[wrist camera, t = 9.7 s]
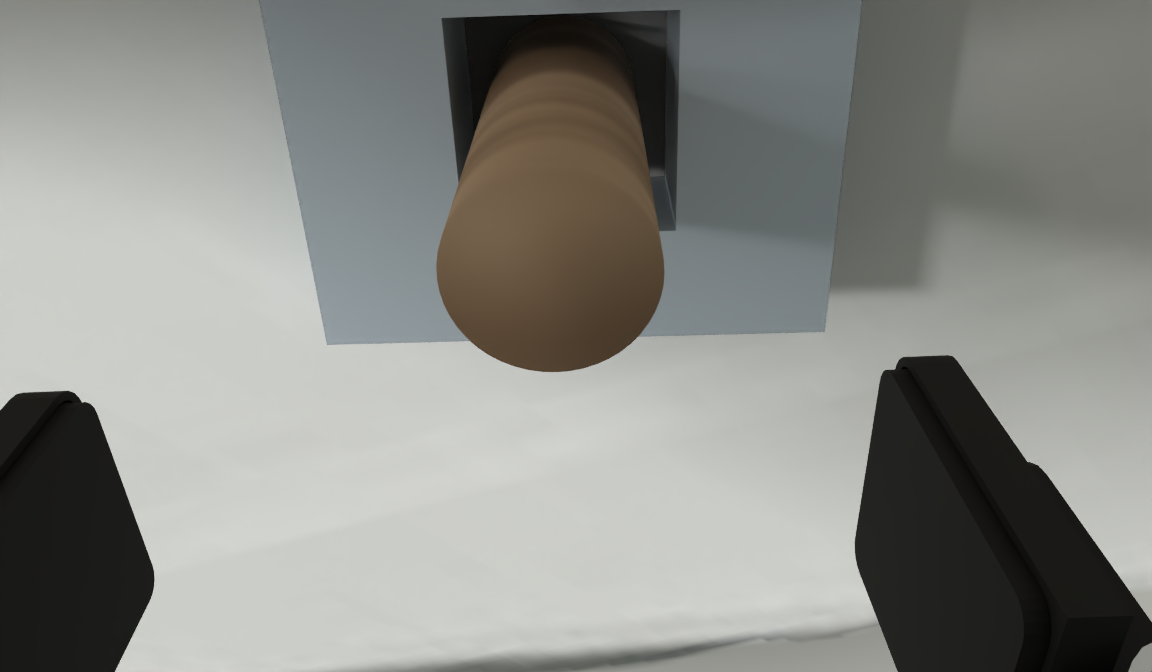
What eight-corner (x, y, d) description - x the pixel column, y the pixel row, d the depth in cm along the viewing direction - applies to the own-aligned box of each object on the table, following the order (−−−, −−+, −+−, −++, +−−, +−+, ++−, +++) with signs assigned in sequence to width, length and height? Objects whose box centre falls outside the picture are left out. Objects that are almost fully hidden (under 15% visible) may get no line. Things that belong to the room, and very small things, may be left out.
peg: (488, 18, 26) (423, 170, 15) (633, 13, 26) (666, 162, 15) (499, 156, 28) (448, 374, 17) (633, 152, 28) (663, 369, 17)
